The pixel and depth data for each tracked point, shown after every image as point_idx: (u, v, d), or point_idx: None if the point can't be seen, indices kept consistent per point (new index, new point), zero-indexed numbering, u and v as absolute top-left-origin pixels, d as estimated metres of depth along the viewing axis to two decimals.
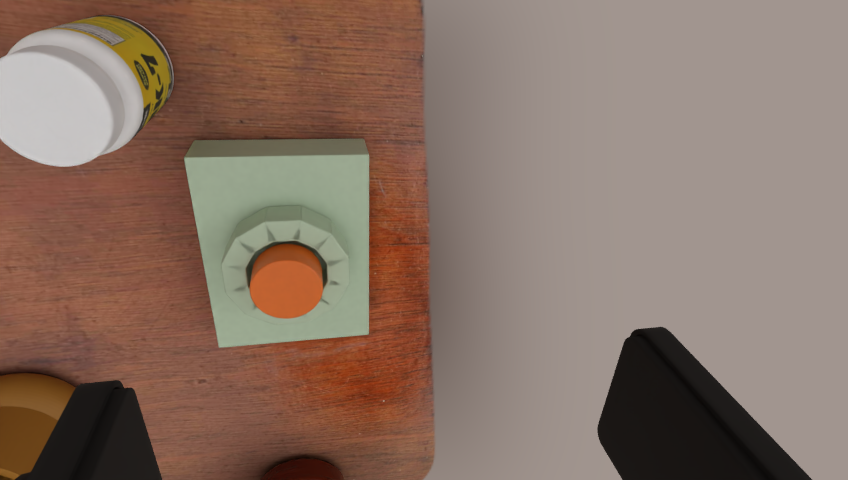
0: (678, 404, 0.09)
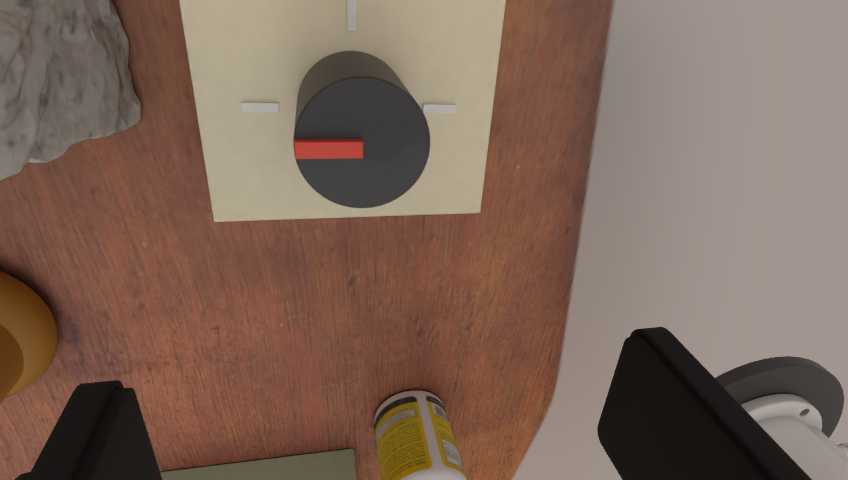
0: (678, 404, 0.09)
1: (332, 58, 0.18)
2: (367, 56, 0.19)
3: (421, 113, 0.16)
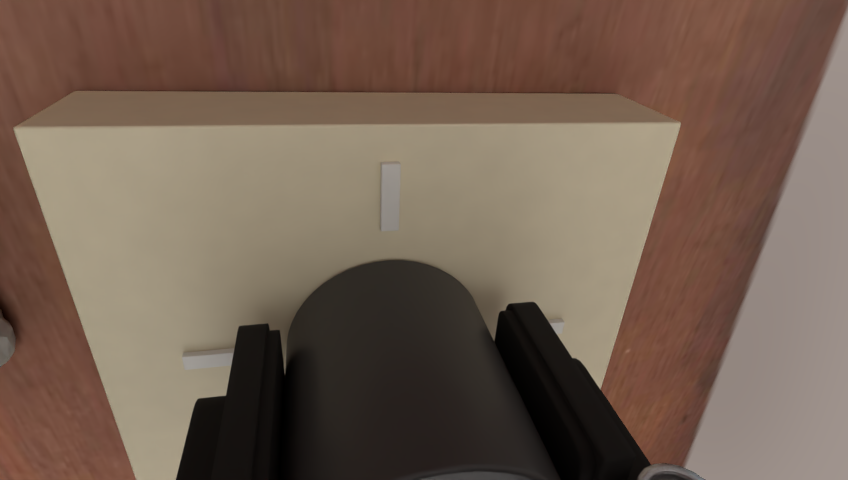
0: (529, 370, 0.09)
1: (353, 296, 0.09)
2: (420, 284, 0.10)
3: None
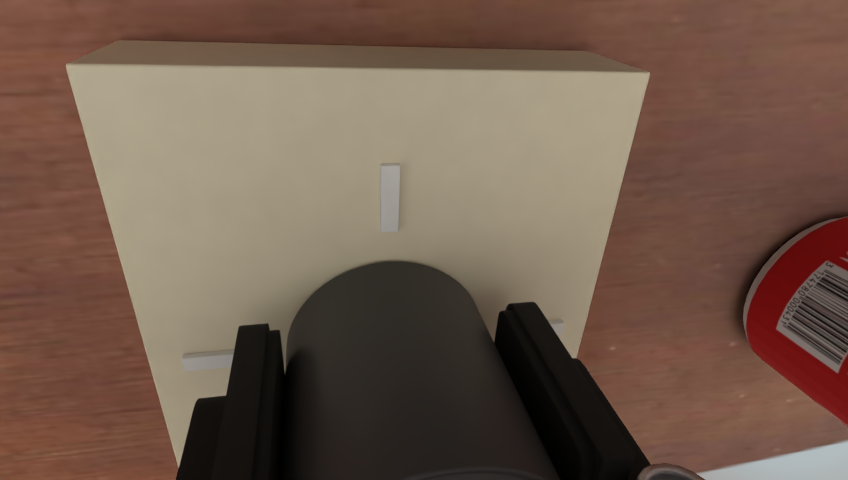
0: (529, 370, 0.09)
1: (353, 297, 0.09)
2: (420, 285, 0.10)
3: None
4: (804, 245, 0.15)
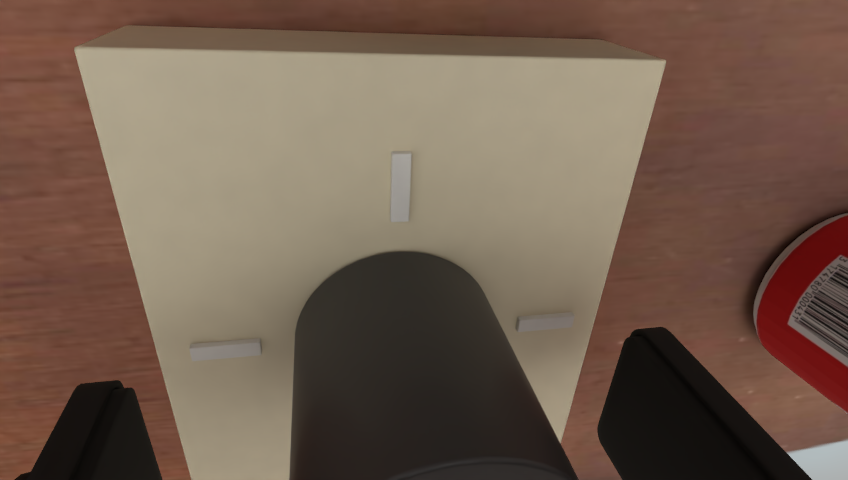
0: (678, 404, 0.09)
1: (366, 286, 0.09)
2: (433, 276, 0.10)
3: None
4: (817, 239, 0.15)
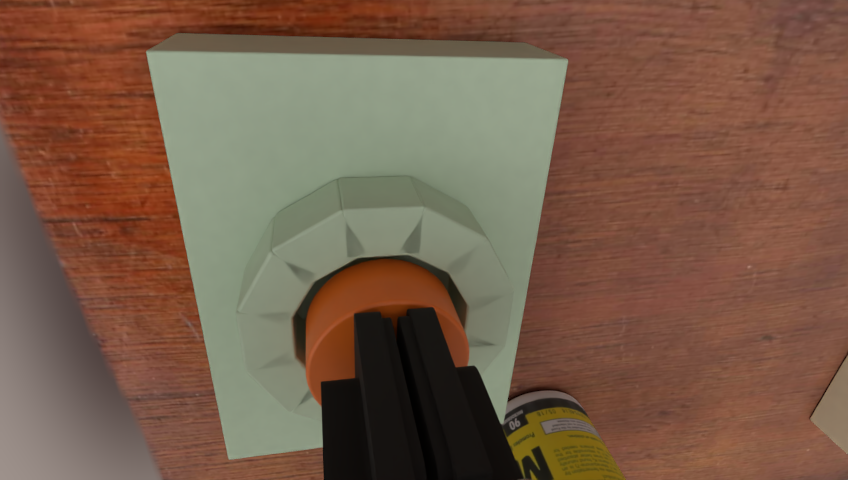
0: (412, 379, 0.09)
1: None
2: None
3: None
4: None
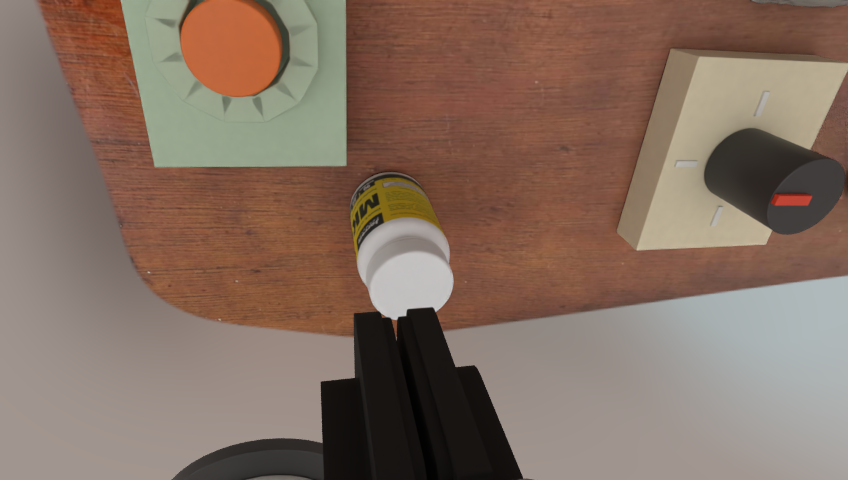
0: (412, 379, 0.09)
1: (752, 135, 0.29)
2: (771, 134, 0.29)
3: (844, 179, 0.26)
4: None
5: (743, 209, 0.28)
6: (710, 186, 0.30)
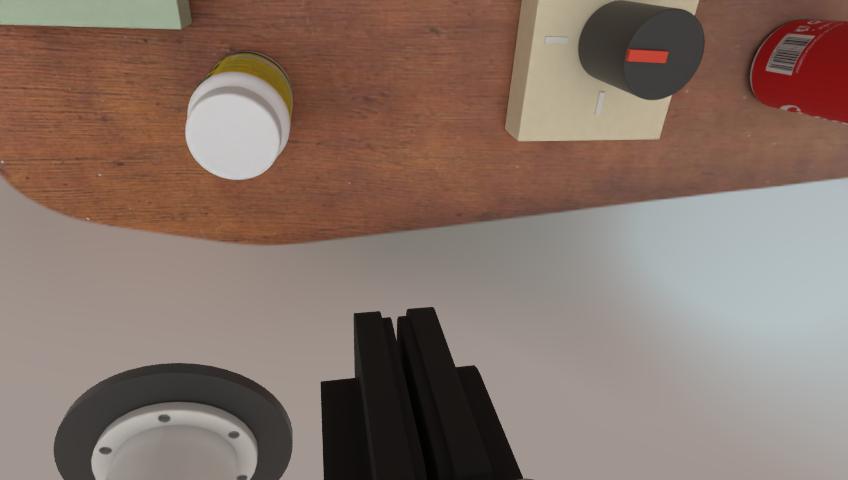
0: (412, 380, 0.09)
1: (619, 3, 0.28)
2: None
3: (703, 35, 0.25)
4: (778, 31, 0.33)
5: (610, 79, 0.27)
6: (584, 65, 0.29)
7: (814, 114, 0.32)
